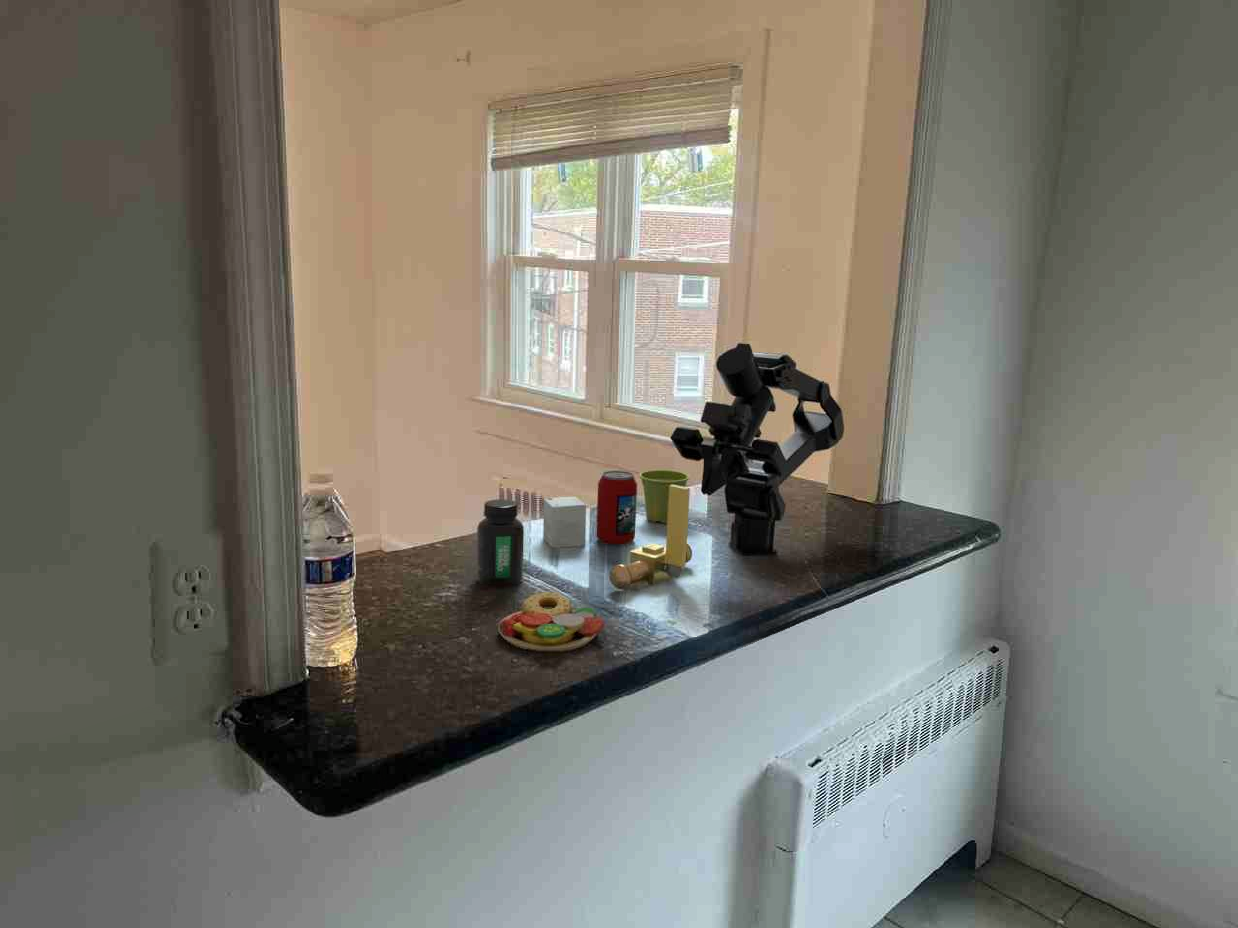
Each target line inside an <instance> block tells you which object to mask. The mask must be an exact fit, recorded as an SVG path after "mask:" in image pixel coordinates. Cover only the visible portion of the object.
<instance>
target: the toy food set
mask: <svg viewBox="0 0 1238 928" xmlns="http://www.w3.org/2000/svg"><path fill="white" fill-rule="evenodd" d="M596 611H597V610H595V609H594V608H590V607H583V608H579V609H577V610H573V607H572V604H571V602H570V600H569V599H568V598H567V597H566V596H564V595H562V594H559V593H556V592H544V591H543V592H539V593H534V594H532V595H530V596H529V597H528V598H526V599H525V600H524V602H523V604H522V610H520V611H517V612H513V613H512V614H509V615H508V616H506V617H504V618H503V619H502V620H501V621H500V622H499V624H498V632H499V634H500V636H501V637H502V638H503V639H504V640H506V642H508V643H509V642H510V643H511V645H512V644H513V645H512V646H514V645H515V647H516V646H517V647H516V648H519V647H520V648H519V649H522V648H523V649H522V650H526V649H531V650H538V651H560V652H567V651H573V650H575V649H578V648H581V647H583V646H585V645H586V644H588V643H590V641H593V639H595V637H596V636H597V634H598V633H600V632H601V631H602V630H603V628H604V627H605V622H604V620H603V619H602V618H601V617H597V612H596ZM510 643H509V644H510ZM566 650H567V651H566ZM538 651H537V652H538Z"/></svg>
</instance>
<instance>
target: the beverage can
mask: <svg viewBox="0 0 1238 928" xmlns="http://www.w3.org/2000/svg"><path fill="white" fill-rule="evenodd" d="M601 475H602V476H601V477H600V478H599V480H598V483H597V501H596V502H597V503H596V505H597V506H596V507H597V508H596V539H598V541H600V542H601V543H603V544H605V545H608V546H626V545H628V544H629V543H631V542H632V541H633V540H635V537H636V525H637V524H636V523H637V522H636V521H637V520H636V519H637V518H636V517H637V497H638V483H637V481H636V479H635V476H634V474H633V473H632V472H630V471H623V470H608V471H604V472H603V473H602V474H601Z"/></svg>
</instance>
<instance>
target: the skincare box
mask: <svg viewBox="0 0 1238 928" xmlns="http://www.w3.org/2000/svg"><path fill="white" fill-rule="evenodd" d="M586 521H587V505H586V504H585V503H584V502H583V501H582V500H581V499H579V497H577V496H563V497H549V498H547V497H546V498H543V525H542V526H543V527H542V528H543V530H542V531H543V534H542V539H543V540H544V541H545V542H546V543H547V544H548V545H549V546H550V547H551V548H552V549H560V548H574V547H585V546H586V538H587V537H586V531H587V530H586V529H587V527H586V525H587V522H586Z"/></svg>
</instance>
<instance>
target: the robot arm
mask: <svg viewBox="0 0 1238 928" xmlns="http://www.w3.org/2000/svg"><path fill="white" fill-rule="evenodd" d="M752 349H753V348H752V347H751V344H750V343H742V342H739V343H738V344H736V347H733V348H731V349H728V350H726V351H725V352H723V353H722V354H721V355H719V356H718V358H717V360H716V364H715V366H716V370H717V371H718V373H719V376H720V378H721V379H722V382H723V384H724V386H725V388H726V390H727V392H728V393H729V395H731V396H733V397H734V400H733V401H732V403H731V405H730V404H725V403H718V402H712V401H706V402H705V403H704V404H705V405H704V407H703V411H702V414H701V417H700V423H703V424H706V425H707V426H708V427H709V428H708V430H707V431H708V432H709V434H710V436H705V435H704V436H703V435H702V434H701V431H700V430H699V429H698V428H693V427H686V426H677V427H676V428H675V429H674V430H673V432H672V434H671V436H670V437H669V438H670V440H671V441H672V443H673V445H674V446H675V448H676V450H677V451H678V453H679V455H680V456H681V457H682V458H684V459H685V460H690V461H696V462H699V461H701V460H703V469H702V479H701V480H702V481H701V487H700V491H701V494H702V495H707V496H711V495H713V494H714V493H715V492H717V491H719V490H720V489H722V488H723V487H724V498H725V503H726V504H725V505H726V511H727V513H728V514H734V521H732V523H731V528H730V529H731V530H730V541H729V542H728V545H729V547H731V548H733V549H734V550H735V551H737V552H738V553H739V554H741V555H742V556H757V555H759V556H760V555H774V554H775V555H776V554H778V552H779V551H778V550H777V549H776V548H774V542H775V541H774V540H775V530H776V529H775V528H776V522H778V521H779V522H780V521H782V519H783V517H784V515H785V512H786V511H785V510H786V506H787V504H786V503H785V501H784V499H783V497H782V495H781V493H780V486H781V485H782V484H783V483H784V482H785V481H786V480H787V479H788V478H789V477H790V476H792V474H793V473H795V471H796V470H797V469H798V468H799V467H800V466H801V465H803V464H804V462H805V461H806V460H808V459H809V457H811V456H812V455H813V454H814V453H816V452H821V451H826V450H830V449H831V448H833V447H835V446H836V445H837V444H838V443H839V442H840V441H841V440H842V438H843V437H844V433H845V425H844V419H843V418H844V416H843V411H842V408H841V406H840V405H839V404H838V403H837V401H836V400H835V399H834V398H833V396H832V395H831V389H830V385H829V383H828V382H825V381H824V380H819V379H817V378H815V377H813V376H811V375H809V374H807V373H805V372H803V371H801V370H799V369H797V363H796V362H795V360H794V359H793V358H792V357H791V356H790V355H788V354H781V353H769V352H761V351H759V352H758V351H753V350H752ZM771 389H775V390H780V391H781V392H785V393H787V394H789V395H792V396H795V397H796V398H797V404H796V407H795V408H794V411H793V412H792V419H793V424H794V433H793V434H792V435H791V436H790V437H789V438H788V439H786V440H785V441H784V442H783V443H782V444H781V445H779V443H778V441H773V440H767V439H761V435H762V431H761V430H760V428H761V426H762V423H763V421H764V420H765V418H766V416H767V414H768V412H772V413H775V411H776V410H777V409H776V403H775V397H774V395H773V394H772V391H771ZM805 402H809V403H815V404H816V403H817V404H819V405H820V406H819V407H820V408H821V409H822V410H823V411H824V413H823V412H815V411H808V410H805V408H804V403H805ZM711 436H713V437H711ZM755 438H756V439H755Z"/></svg>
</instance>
